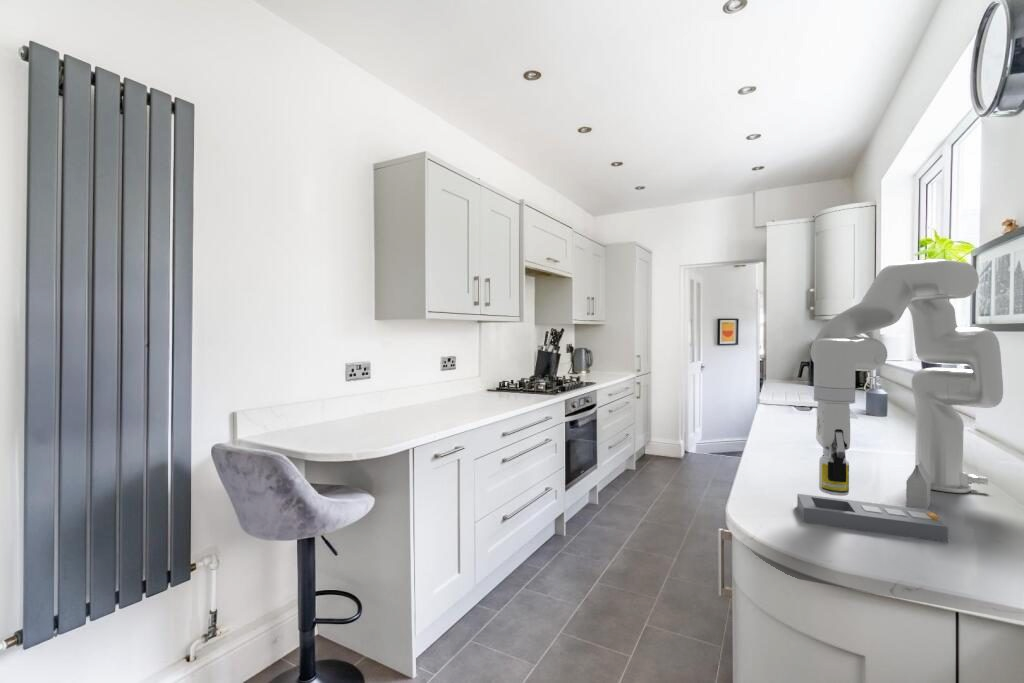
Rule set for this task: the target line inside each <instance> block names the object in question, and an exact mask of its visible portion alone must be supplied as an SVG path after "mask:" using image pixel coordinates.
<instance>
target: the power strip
mask: <svg viewBox="0 0 1024 683" xmlns="http://www.w3.org/2000/svg"><path fill="white" fill-rule="evenodd" d="M796 497H797V499H796V500H797V501H796V502H797V504H796V507H797V509H798V511H799V513H800V517H801V518H802V521H803V522H805V523H810V524H818V525H825V526H831V527H832V526H833V527H838V528H846V529H853V530H858V531H859V530H860V531H865V532H866V531H868V532H872V533H880V534H886V535H887V534H888V535H893V534H894V535H895V536H900V537H908V538H915V539H921V540H928V541H930V540H931V541H936V542H943V543H948V542H949V526H948V525H947V524H945V523H944V522H943V521H942V520H940V519H939V516H938V515H937V514H936V513H935V512H931V511H930V510H929V509H927V510H926V509H918V508H914V507H909V506H899V505H892V504H885V503H876V502H869V501H858V500H852V499H851V500H850V499H843V498H837V497H835V498H834V497H827V496H821V495H820V496H819V495H812V494H811V495H810V494H804V493H803V494H802V493H797V496H796Z"/></svg>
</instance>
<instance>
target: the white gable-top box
mask: <svg viewBox="0 0 1024 683" xmlns="http://www.w3.org/2000/svg"><path fill="white" fill-rule="evenodd" d="M909 476H910V477H909V478H908V477H907V480H906V486H905V487H906V489H905V490H906V492H905V493H906V494H905V496H906V498H905V504H906V505H905V507H909V508H918V509H926V510H929V507H930V505H931V496H932V493H931V478H930V476H929V475H928V473H927V471H926V470H925V468H924V466H923V464H922V460H921V461H920V460H919V462H918V463H917V464H916V466H915V465H914V469H913V471H912V472H911V474H910V475H909Z"/></svg>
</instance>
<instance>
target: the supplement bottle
mask: <svg viewBox="0 0 1024 683" xmlns="http://www.w3.org/2000/svg"><path fill="white" fill-rule="evenodd" d="M832 448H836V446H832ZM834 452H836V451H833V453H834ZM823 453H824V454H823ZM822 454H823V455H824V456H823V455H822V456H820V458H819V464H818V466H819V472H818V474H819V475H818V476H819V477H818V480H819V481H818V482H819V486H818V488H819V490H820V491H821V492H822V493H825V494H826V495H832V496H837V497H838V496H841V497H843V496H848V495H849V493H850V462H849V460H848V459H847V458H846V482H836V481H829V480H828V462H830V459H829V447H826V448H823V447H822Z"/></svg>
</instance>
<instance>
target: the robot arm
mask: <svg viewBox="0 0 1024 683" xmlns="http://www.w3.org/2000/svg"><path fill="white" fill-rule="evenodd" d="M979 279H980V278H979V275H978V272H977V269H976V268H975V267H974V266H973V265H972V264H970V263H969V262H965V261H958V260H952V259H945V258H944V259H940V258H939V259H937V258H936V259H935V258H934V259H926V260H925V259H924V260H915V261H907V262H905V261H904V262H898V263H893V264H890V265H887V266H885V267H884V268H882V269H881V270H880V271H879V273H878V274H877V275H876V277H875V278H874V280H873V282H872V283H871V285H870V286H869V288H868V290H867V291H866V293H865V295H864V296H863V298H862V299H861V301H860V302H859V303H857V304H855V305H853V306H850V307H849V308H848V309H845V310H843V311H842V312H841V313H839V314H837V315H835V316H834V317H832V318H831V319H829V320H828V321H826V322H825V324H824V325H823V326H822V327H821V328H820V330H819V332H818V333H817V335H816V336H815V338H814V340H813V341H812V344H811V348H810V358H811V361H812V362H813V401H814V402H817V410H816V426H815V427H816V429H815V430H816V431H815V439H816V441H817V443H818V444H819V445H820V446H821V448H822V449H823V448H826V447H829V459H830V462H828V480H829V481H836V482H846V459H847V458H846V451H847V450H849V449H850V448H851V409H850V406H851V405H852V404H855V403H856V371H857V372H858V371H860V372H871V371H875V370H878V369H880V368H882V367H883V366H884V364H885V363H886V361H887V359H888V350H887V347H886V345H885V344H884V342H882V341H881V340H879V339H877V338H874V337H868V336H867V337H866V336H863V337H862V336H859V335H863V334H867V333H870V332H874V331H875V332H876V331H878V330H881V329H884V328H886V327H890V326H892V325H894V324H896V323H897V322H899V321H900V319H901V318H902V317H903V314H904V313H905V310H906V309H907V308H908V310H909V312H910V316H911V319H912V320H911V321H912V328H913V338H914V339H913V340H914V348H915V354H916V357H917V358H918V359H919V360H920V361H921V362H923V363H927V364H932V365H933V364H934V365H951V366H968V367H970V369H968V368H967V369H963V368H949V367H947V368H946V367H925V368H921V369H919V370H917V371H916V372H915V373H914V374H913V376H912V378H911V389H912V394H913V399H914V405H915V406H914V407H915V444H914V446H915V447H914V448H915V449H914V450H915V453H914V454H915V455H914V457H915V458H914V467H915V466H916V464H917V463H918V462H919V460H920V461H921V460H922V464H923V466H924V468H925V470H926V471H927V473H928V475H929V476H930V478H931V490H933V491H938V492H944V493H954V494H964V493H965V494H966V493H970V492H971V491H972V487H971V485H972V484H977V485H986V486H987V485H989V479H988V477H986V476H980V475H979V476H977V475H975V474H968V473H967V472H965V471H964V431H965V430H964V428H965V427H964V421H963V418H962V417H961V415H960V414H959V412H958V411H957V410H956V409H955V407H953V406H959V407H969V408H978V409H979V408H980V409H992V408H996V407H998V405H1000V404H1001V403H1002V400H1003V396H1004V381H1003V380H1004V379H1003V378H1004V377H1003V367H1002V366H1003V365H1002V356H1001V355H1002V354H1001V346H1000V341H999V338H998V337H997V335H996V334H995V333H994V332H993V331H992V330H990V329H988V328H983V327H959V326H958V324H957V319H956V310H955V308H954V306H953V304H952V303H951V301H950V299H951V300H952V299H954V300H955V299H964V298H968V297H970V296H972V295H973V294H974V293H975V292H976V290H977V289H978V285H979V282H980V280H979ZM832 446H836V448H832ZM833 451H836V452H834V453H833ZM824 455H825V454H824V453H823V452H822V456H824ZM909 477H910V475H908V476H907V479H908V478H909Z"/></svg>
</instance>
